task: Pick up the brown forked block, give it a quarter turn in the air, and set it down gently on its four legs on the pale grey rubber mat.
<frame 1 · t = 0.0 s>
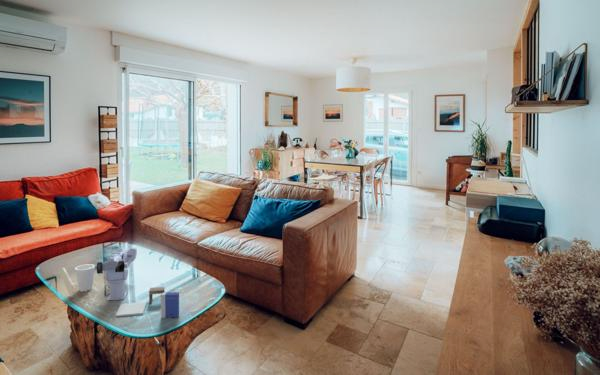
hand: (107, 270, 165), 22 cm above the table, tool horizontal, fingers open, 7 cm apart
brown forked block: (157, 301, 182), on the table
foam cup: (85, 289, 194), on the table
mat: (131, 309, 173), on the table
walkman: (170, 316, 168), on the table
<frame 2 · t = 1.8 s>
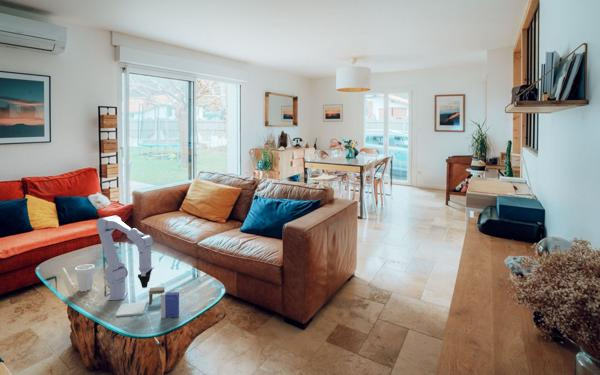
hand: (145, 284, 178), 10 cm above the table, tool pointing down, fingers open, 7 cm apart
nothing on the table moved.
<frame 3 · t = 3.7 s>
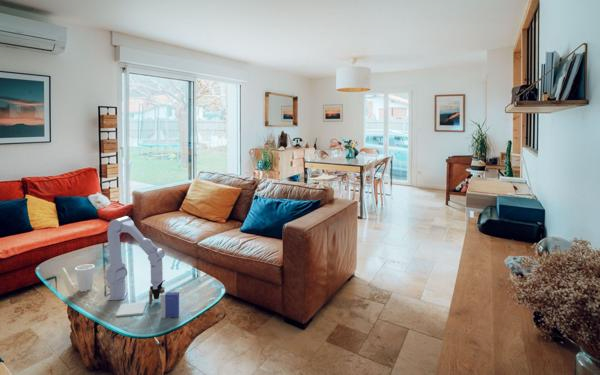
hand: (157, 296, 182), 3 cm above the table, tool pointing down, fingers closed on brown forked block, 4 cm apart
brown forked block: (157, 301, 182), on the table, touching gripper
everything else where it was.
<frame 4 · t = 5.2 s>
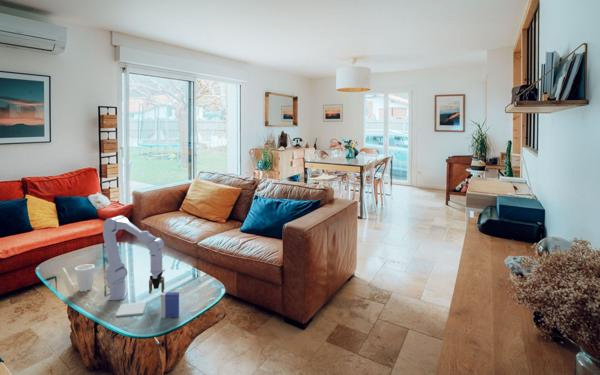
hand: (156, 286, 181), 8 cm above the table, tool pointing down, fingers closed on brown forked block, 4 cm apart
brown forked block: (156, 291, 182), point 6 cm above the table, touching gripper
everything else where it was.
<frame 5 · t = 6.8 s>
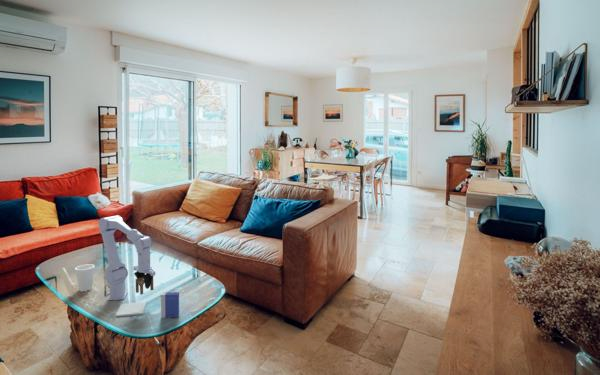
hand: (144, 286, 176), 10 cm above the table, tool pointing down, fingers closed on brown forked block, 4 cm apart
brown forked block: (144, 291, 177), point 8 cm above the table, touching gripper
everything else where it was.
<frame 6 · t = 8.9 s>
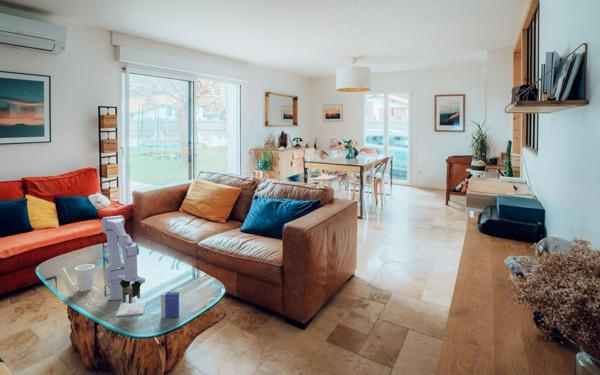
hand: (131, 295, 172), 8 cm above the table, tool pointing down, fingers closed on brown forked block, 4 cm apart
brown forked block: (131, 300, 172), point 5 cm above the table, touching gripper
everything else where it was.
when the fingers open (4 cm above the table, at t = 10.3 s): brown forked block stays where it is, resting on mat.
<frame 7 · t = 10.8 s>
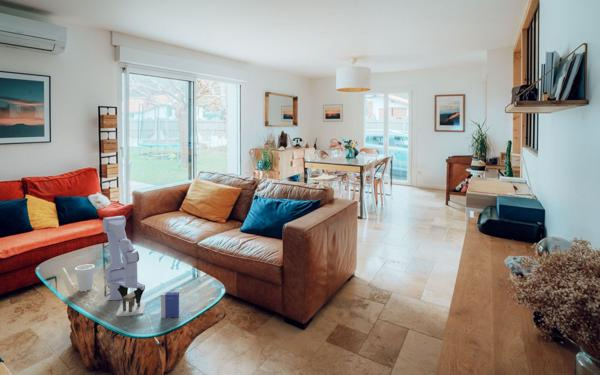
hand: (131, 301, 172), 4 cm above the table, tool pointing down, fingers open, 7 cm apart
brown forked block: (131, 308, 173), point 1 cm above the table, touching mat
everything else where it was.
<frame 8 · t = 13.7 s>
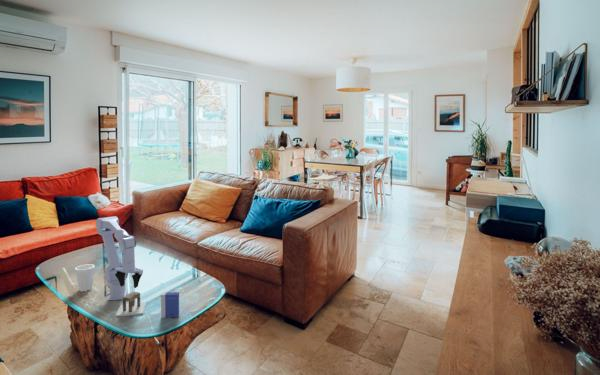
hand: (129, 286, 175), 10 cm above the table, tool pointing down, fingers open, 7 cm apart
nothing on the table moved.
at the end: brown forked block inside the target area on the mat (0.0 cm from its centre), point 0.8 cm above the mat's base; brown forked block tilted 0°; the gripper is holding nothing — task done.
